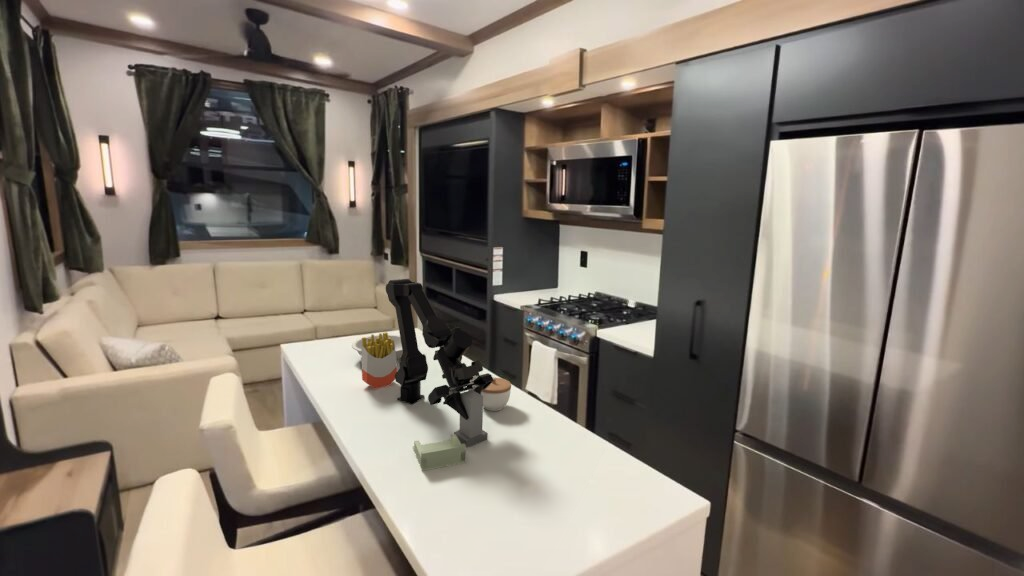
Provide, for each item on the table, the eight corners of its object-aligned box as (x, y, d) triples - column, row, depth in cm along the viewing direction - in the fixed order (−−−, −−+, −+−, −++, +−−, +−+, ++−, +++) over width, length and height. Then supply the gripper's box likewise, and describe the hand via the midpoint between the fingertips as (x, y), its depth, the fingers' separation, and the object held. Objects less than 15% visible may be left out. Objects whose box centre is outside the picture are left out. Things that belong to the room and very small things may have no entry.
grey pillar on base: (453, 438, 128) (454, 394, 126) (474, 431, 133) (475, 388, 130) (466, 448, 124) (467, 401, 121) (487, 439, 128) (488, 395, 126)
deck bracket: (412, 447, 123) (412, 432, 122) (453, 440, 127) (453, 425, 126) (422, 470, 113) (422, 453, 112) (465, 462, 117) (465, 445, 116)
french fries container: (397, 383, 164) (397, 334, 161) (367, 391, 157) (366, 339, 154) (391, 379, 168) (391, 331, 164) (362, 386, 161) (360, 335, 158)
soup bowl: (406, 370, 177) (406, 353, 176) (342, 367, 177) (342, 351, 176) (419, 350, 201) (419, 335, 200) (363, 348, 201) (363, 333, 200)
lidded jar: (494, 396, 156) (495, 370, 155) (517, 407, 149) (518, 379, 147) (469, 405, 149) (470, 377, 147) (492, 417, 141) (493, 388, 140)
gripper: (433, 358, 121) (457, 414, 115) (490, 345, 133) (515, 395, 127) (418, 378, 128) (440, 431, 122) (473, 364, 140) (495, 412, 134)
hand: (474, 417), depth 126 cm, fingers closed on grey pillar on base, 4 cm apart
